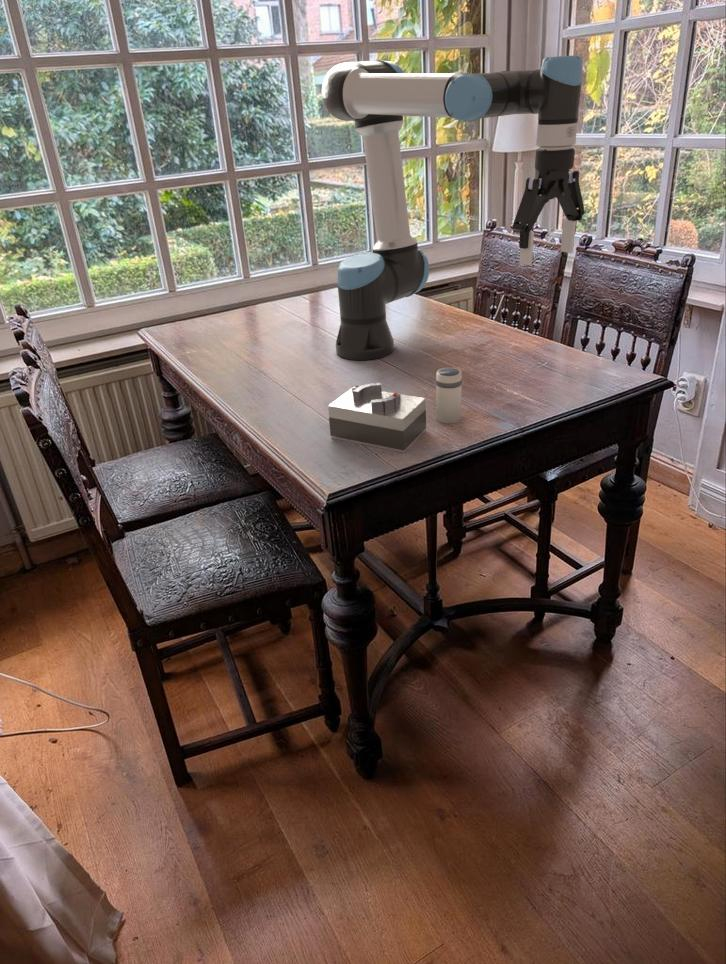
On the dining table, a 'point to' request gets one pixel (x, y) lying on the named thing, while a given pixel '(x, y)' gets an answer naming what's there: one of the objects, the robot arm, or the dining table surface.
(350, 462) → the dining table surface
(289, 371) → the dining table surface
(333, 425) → the two-tone block with arcs
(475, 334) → the dining table surface
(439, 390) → the lens
